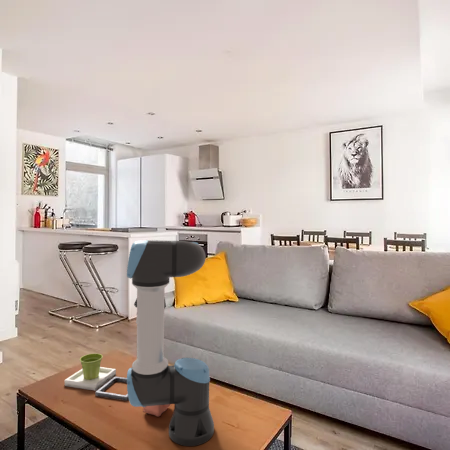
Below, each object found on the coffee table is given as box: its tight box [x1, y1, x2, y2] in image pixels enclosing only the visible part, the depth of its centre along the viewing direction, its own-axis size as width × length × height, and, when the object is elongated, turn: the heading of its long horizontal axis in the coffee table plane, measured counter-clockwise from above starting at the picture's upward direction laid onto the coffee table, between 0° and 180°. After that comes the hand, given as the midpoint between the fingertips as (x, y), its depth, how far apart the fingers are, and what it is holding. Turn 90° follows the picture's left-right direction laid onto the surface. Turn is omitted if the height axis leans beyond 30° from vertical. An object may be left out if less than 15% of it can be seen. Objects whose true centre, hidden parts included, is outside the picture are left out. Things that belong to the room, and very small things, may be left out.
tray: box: [64, 366, 117, 392], centre depth 145 cm, size 15×15×2 cm
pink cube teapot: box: [142, 404, 171, 417], centre depth 122 cm, size 8×12×8 cm, turn 66°
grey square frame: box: [94, 375, 129, 402], centre depth 137 cm, size 14×14×2 cm
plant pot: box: [79, 353, 104, 380], centre depth 146 cm, size 9×9×9 cm
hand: (148, 323), depth 144 cm, fingers open, 13 cm apart
